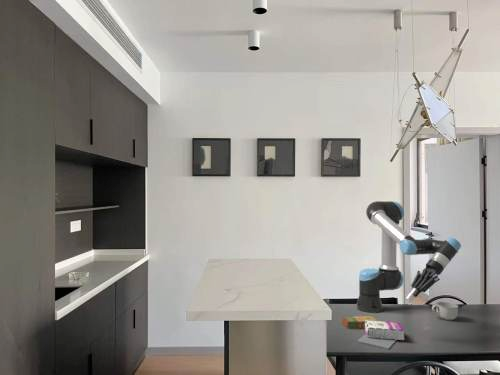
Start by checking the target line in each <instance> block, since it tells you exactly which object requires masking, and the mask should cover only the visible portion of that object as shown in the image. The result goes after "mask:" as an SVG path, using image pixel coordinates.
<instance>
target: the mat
mask: <svg viewBox="0 0 500 375" xmlns="http://www.w3.org/2000/svg"><path fill="white" fill-rule="evenodd" d="M397 341H398V340H394V339H381V338H368V336H367V333H366V332H365V334H364V335H362V336H361V337H360V338H359V339H358V340H357V341H356V342H357V343H360V344H363V345H369V346H372V347H377V348H380V349H385V350H390V349H391V347H393V345H394V344H395V343H396V342H397Z"/></svg>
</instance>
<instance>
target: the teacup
mask: <svg viewBox="0 0 500 375" xmlns="http://www.w3.org/2000/svg"><path fill="white" fill-rule="evenodd" d="M435 309H436V310H435ZM431 311H432V312H433V313H434V314H436V315H437V316H438V317H439V318H440V319H443V320H446V321H453V320H455V319H457V318H458V313H459V306H458V305H457V304H456V303H453V302H450V301H449V302H448V301H442V300H441V301H437V302H436V304H433V305H432V306H431Z"/></svg>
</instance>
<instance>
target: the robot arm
mask: <svg viewBox="0 0 500 375" xmlns="http://www.w3.org/2000/svg"><path fill="white" fill-rule="evenodd" d="M365 212H366V217H367V219H368V221H369V222H371V223H372V224H374V225H377V226H378V227H379V228H380V230H381V264H380V265H378V268H374V267H373V268H372V267H371V268H364V269H362V270H360V271H359V274H358V275H359V277H358V279H359V283H358V285H359V286H358V288H359V289H358V290H359V291H358V292H359V293H358V294H359V296H358V298H357V302H356V306H355V307H356V309H357V310H359V311H362V312H367V313H381V312H383V311H384V306H383V302H382V300H381V296H380V295H381V294H380V291H394V290H398V289H400V288H401V287H402V286H403V282H404V275H403V273H402V272H401V270H400V268H399V266H397V247H398V246H397V244H398V245H399V250H400V252H401V253H402V254H403V255H406V256H407V255H408V256H417V255H432V256H431V257H430V259H428V261H427V262H426V264H425V268H423V269H422V270H421V271H420V270H417V272H416V275H415V277H414V279H413V280H412V283H411V284H410V286H411V287H412V289H411V290H410V291H409V293H408V295H407V296H406V297H405V299H406V300H407V301H408V303H413V301H414V300H415V299H416V298H417V297H418V296H419V295H420V293H426V292H427V291H428V290H429V289H430V288H432V286H434V284H436V282H439V281H440V278H439V276H440V275H441V274H442V273H443V271H444V270H445V269H446V267H447V266H448V264H450V262H451V261H452V260H453V258H455V256H456V255H457V254H458V253H459V250H460V249H461V247H462V245H461V242H460V241H459V240H458V239H456V238H455V237H451V236H449V237H446V238H445V239H444V240H438V239H433V238H426V237H425V238H423V239H415V238H414V237H412V235H410V234H409V233H408V232H407V231H406V230H405V229H403V227H401V226H400V221H401V220H403V218H404V216H405V210H404V207H403V206H402V205H401V203H400V202H398V201H392V200H391V201H387V200H386V201H381V200H380V201H378V200H377V201H372V202H371V203H370V204H368V206H367V207H366V211H365Z"/></svg>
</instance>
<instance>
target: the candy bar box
mask: <svg viewBox="0 0 500 375" xmlns="http://www.w3.org/2000/svg"><path fill="white" fill-rule="evenodd" d="M364 329H365V334H366V333H367V336H368V338H381V339H394V340H397V341H405V329H404V328H403V326H402V325H401V323H400V322H396V321H395V322H394V321H390V322H389V321H380V320H377V321H368V320H365V328H364Z"/></svg>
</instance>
